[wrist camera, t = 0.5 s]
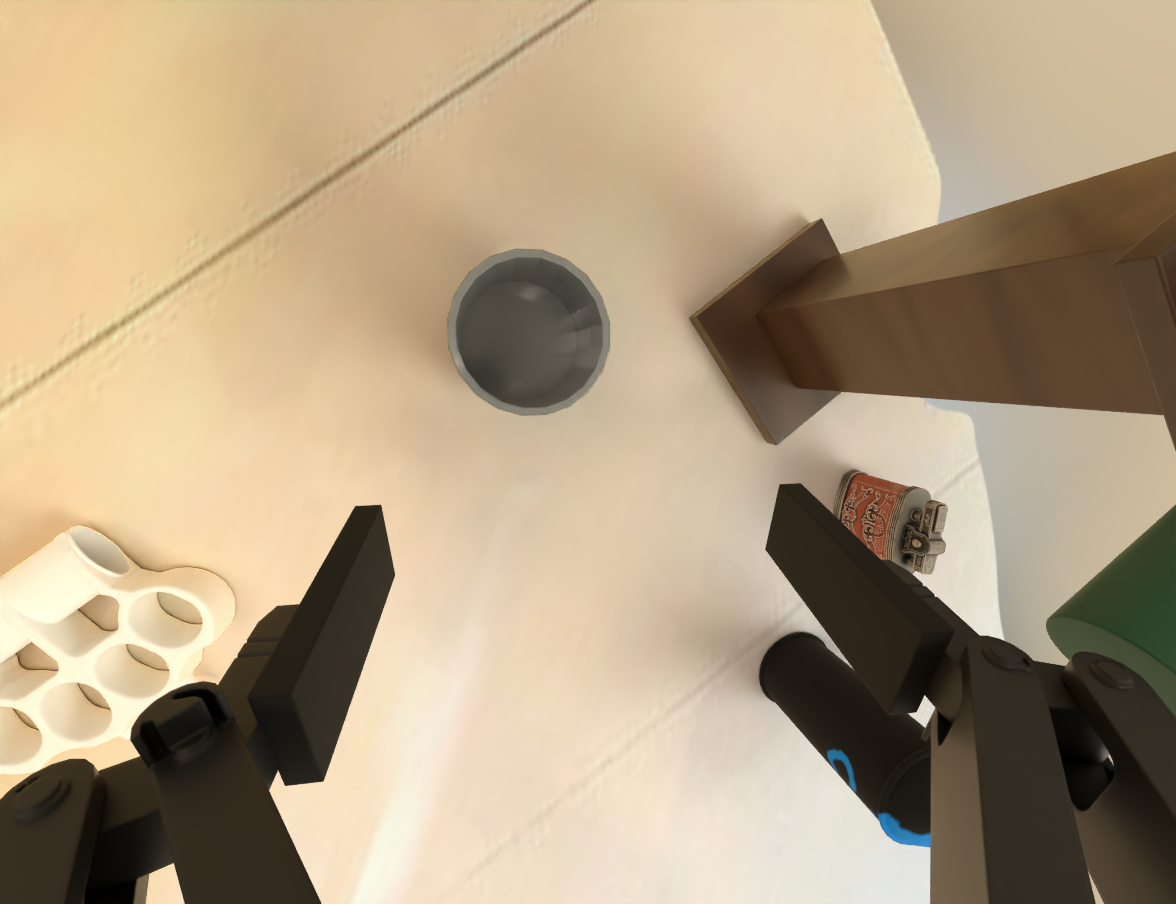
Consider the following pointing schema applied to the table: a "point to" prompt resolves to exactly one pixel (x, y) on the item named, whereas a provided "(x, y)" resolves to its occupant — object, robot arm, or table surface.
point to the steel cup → (528, 332)
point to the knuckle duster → (93, 644)
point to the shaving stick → (1129, 611)
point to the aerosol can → (854, 734)
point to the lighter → (893, 520)
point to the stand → (968, 309)
